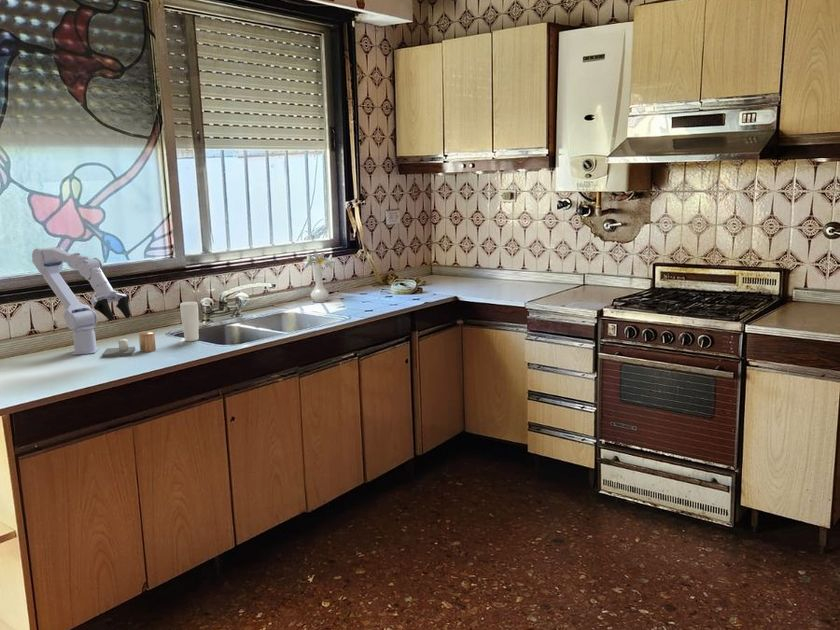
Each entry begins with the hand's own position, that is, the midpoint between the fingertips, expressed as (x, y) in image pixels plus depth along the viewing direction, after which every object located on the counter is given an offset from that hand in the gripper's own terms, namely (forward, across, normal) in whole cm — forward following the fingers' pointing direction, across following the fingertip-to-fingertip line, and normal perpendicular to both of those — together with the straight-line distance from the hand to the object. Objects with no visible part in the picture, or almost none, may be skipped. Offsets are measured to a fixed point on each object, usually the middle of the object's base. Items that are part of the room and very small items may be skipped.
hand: (120, 317), depth 265 cm
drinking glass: (+11, +34, +6) cm, 36 cm away
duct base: (+6, +6, +16) cm, 18 cm away
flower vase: (+4, +127, +3) cm, 127 cm away
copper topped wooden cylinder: (+10, +14, +10) cm, 20 cm away
